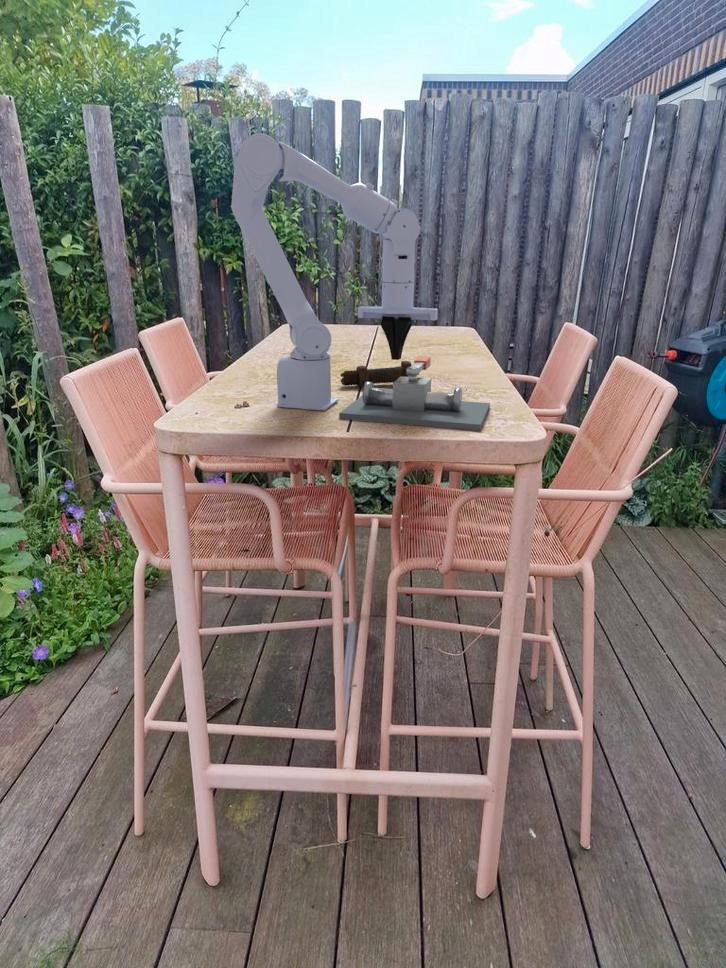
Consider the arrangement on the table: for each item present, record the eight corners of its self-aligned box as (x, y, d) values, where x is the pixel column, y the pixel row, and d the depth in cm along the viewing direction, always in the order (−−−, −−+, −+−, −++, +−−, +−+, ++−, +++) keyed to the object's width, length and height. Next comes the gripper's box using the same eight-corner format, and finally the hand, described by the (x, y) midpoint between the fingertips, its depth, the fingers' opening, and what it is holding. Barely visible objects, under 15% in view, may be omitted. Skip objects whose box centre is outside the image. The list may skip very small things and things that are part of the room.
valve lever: (417, 377, 102) (417, 368, 101) (405, 376, 102) (405, 367, 102) (430, 365, 112) (430, 357, 111) (418, 365, 113) (419, 356, 112)
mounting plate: (339, 418, 102) (339, 412, 101) (364, 398, 115) (364, 393, 115) (480, 430, 95) (480, 424, 95) (489, 408, 109) (490, 403, 108)
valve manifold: (361, 407, 105) (361, 374, 103) (370, 400, 110) (370, 369, 108) (457, 415, 100) (459, 381, 98) (461, 407, 105) (463, 374, 103)
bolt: (341, 395, 127) (409, 390, 129) (344, 388, 122) (415, 383, 124) (338, 369, 127) (405, 364, 130) (341, 361, 122) (411, 356, 125)
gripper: (352, 282, 104) (352, 360, 109) (433, 284, 100) (430, 364, 105) (364, 280, 111) (364, 354, 116) (441, 282, 107) (437, 358, 112)
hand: (396, 358), depth 111 cm, fingers closed
